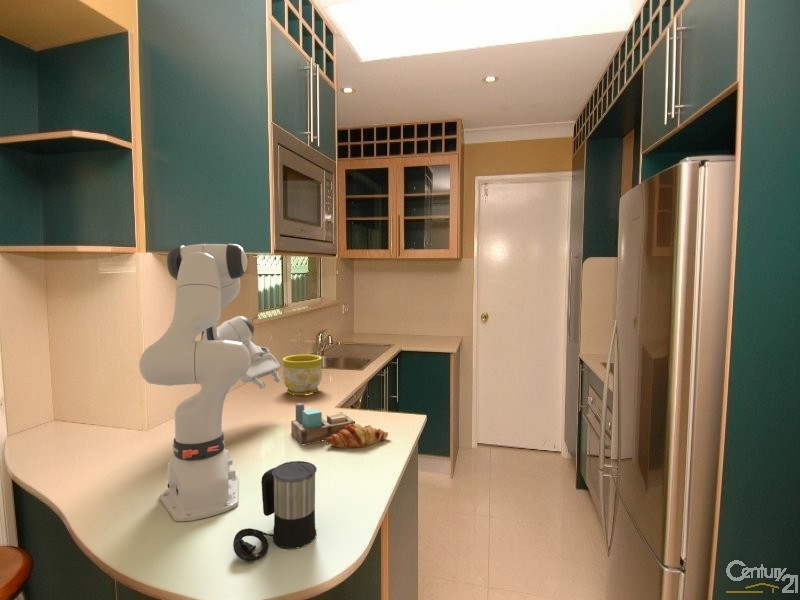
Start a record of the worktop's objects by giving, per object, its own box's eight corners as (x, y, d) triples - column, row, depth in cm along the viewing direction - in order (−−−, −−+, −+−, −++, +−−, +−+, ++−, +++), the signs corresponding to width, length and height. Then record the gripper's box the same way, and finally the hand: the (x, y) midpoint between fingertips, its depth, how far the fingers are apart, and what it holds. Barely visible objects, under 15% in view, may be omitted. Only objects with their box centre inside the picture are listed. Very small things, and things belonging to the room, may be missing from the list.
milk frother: (324, 527, 98) (323, 463, 97) (288, 574, 83) (287, 498, 82) (267, 518, 102) (266, 455, 101) (223, 561, 86) (221, 488, 85)
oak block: (345, 433, 155) (345, 416, 155) (332, 436, 152) (332, 419, 152) (339, 429, 159) (339, 412, 159) (326, 431, 157) (326, 415, 156)
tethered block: (321, 438, 151) (321, 412, 150) (307, 440, 148) (307, 414, 147) (305, 423, 165) (305, 399, 165) (292, 425, 163) (291, 401, 162)
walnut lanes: (355, 434, 154) (355, 421, 154) (302, 444, 144) (302, 431, 144) (341, 423, 165) (341, 412, 164) (291, 433, 155) (291, 420, 154)
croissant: (384, 446, 153) (381, 422, 156) (394, 442, 144) (390, 417, 147) (324, 453, 145) (322, 429, 148) (330, 449, 137) (328, 423, 140)
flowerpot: (306, 399, 195) (305, 363, 194) (274, 394, 203) (274, 359, 202) (329, 390, 211) (329, 356, 210) (299, 385, 219) (299, 353, 218)
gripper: (235, 356, 157) (258, 385, 155) (269, 347, 177) (291, 373, 174) (225, 367, 159) (248, 396, 157) (260, 357, 178) (281, 383, 176)
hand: (271, 384), depth 166 cm, fingers open, 8 cm apart
